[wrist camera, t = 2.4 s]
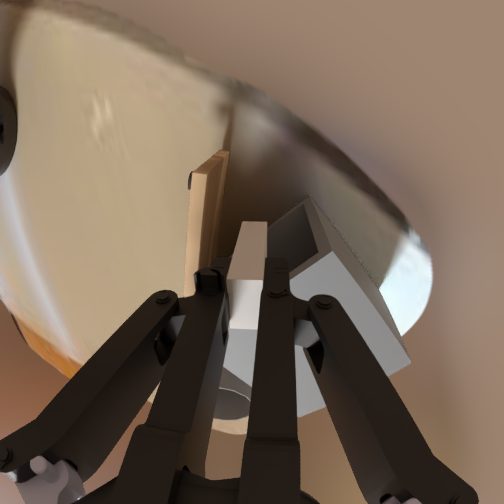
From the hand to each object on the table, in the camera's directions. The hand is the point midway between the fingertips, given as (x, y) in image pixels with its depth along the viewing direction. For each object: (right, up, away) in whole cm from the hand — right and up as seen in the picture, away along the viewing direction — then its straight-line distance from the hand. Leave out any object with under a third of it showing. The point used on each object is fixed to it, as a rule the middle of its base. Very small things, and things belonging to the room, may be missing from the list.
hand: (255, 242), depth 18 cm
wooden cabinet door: (-5, +3, +13) cm, 15 cm away
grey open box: (+6, -4, +17) cm, 19 cm away
